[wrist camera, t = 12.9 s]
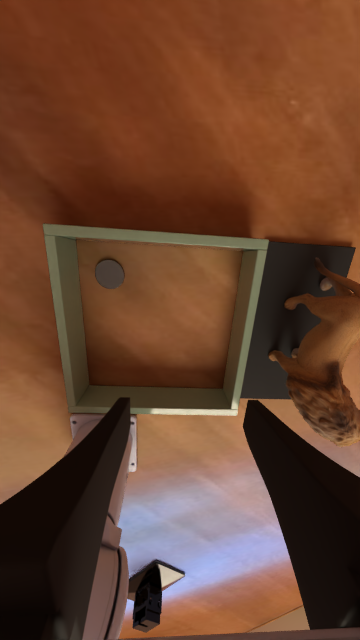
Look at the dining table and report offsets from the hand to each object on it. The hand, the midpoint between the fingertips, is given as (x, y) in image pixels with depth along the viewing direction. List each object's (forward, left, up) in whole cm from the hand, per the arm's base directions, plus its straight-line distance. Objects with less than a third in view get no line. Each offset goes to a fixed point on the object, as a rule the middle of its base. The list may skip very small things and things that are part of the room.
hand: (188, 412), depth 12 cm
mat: (+2, -12, -10) cm, 16 cm away
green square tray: (+2, +2, -10) cm, 11 cm away
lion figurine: (+2, -13, -10) cm, 16 cm away
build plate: (-49, +3, -11) cm, 50 cm away
